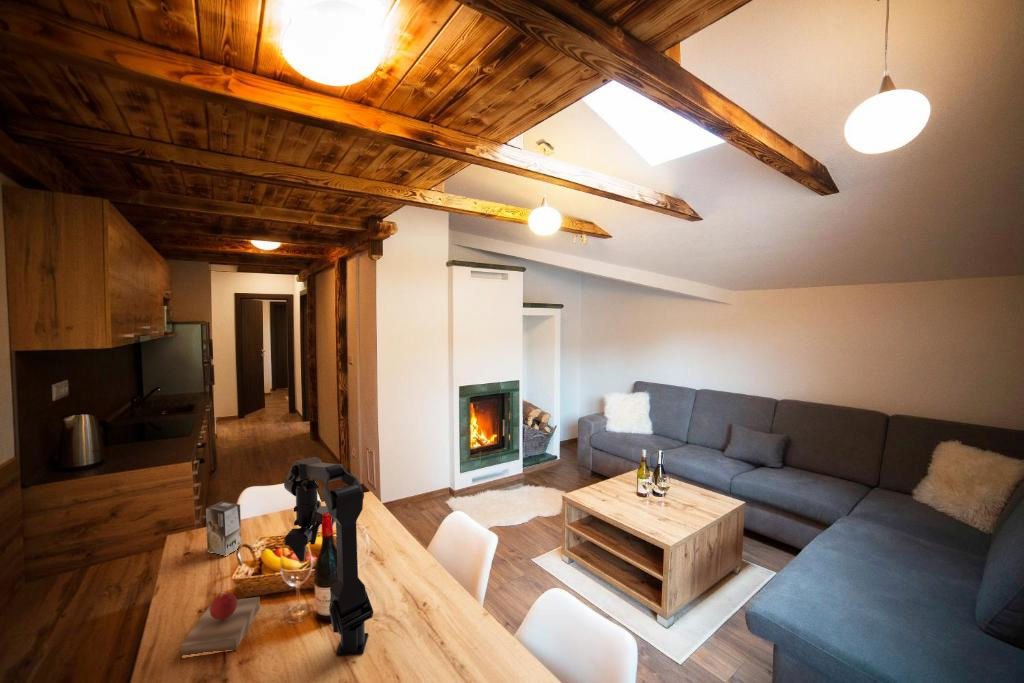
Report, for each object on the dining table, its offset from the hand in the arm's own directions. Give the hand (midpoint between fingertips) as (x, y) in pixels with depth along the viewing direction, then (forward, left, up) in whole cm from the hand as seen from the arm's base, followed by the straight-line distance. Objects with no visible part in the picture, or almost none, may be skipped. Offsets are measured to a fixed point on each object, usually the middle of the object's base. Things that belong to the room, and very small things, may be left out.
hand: (307, 552), depth 125 cm
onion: (-13, +17, -10) cm, 23 cm away
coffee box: (+29, +38, -13) cm, 50 cm away
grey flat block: (-13, +17, -14) cm, 25 cm away
